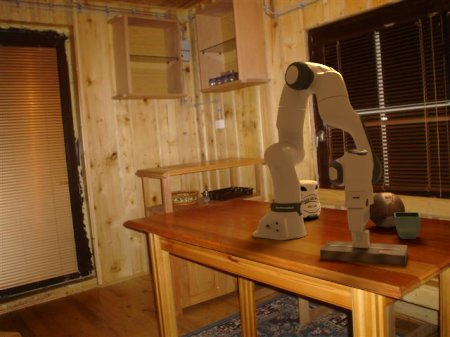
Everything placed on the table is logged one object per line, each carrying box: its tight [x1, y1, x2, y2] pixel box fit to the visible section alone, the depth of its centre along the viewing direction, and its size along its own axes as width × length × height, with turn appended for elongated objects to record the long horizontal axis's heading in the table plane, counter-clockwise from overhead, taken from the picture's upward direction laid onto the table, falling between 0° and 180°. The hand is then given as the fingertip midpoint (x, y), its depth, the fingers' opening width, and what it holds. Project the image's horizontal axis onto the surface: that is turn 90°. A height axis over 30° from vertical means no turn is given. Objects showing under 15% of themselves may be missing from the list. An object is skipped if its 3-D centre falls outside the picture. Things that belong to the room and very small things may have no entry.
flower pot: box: [394, 211, 421, 240], centre depth 155 cm, size 9×9×9 cm
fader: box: [351, 229, 371, 248], centre depth 136 cm, size 5×4×5 cm
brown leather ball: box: [369, 191, 406, 229], centre depth 173 cm, size 15×15×15 cm
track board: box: [319, 240, 409, 266], centre depth 136 cm, size 26×12×3 cm, turn 63°
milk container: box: [298, 179, 322, 220], centre depth 203 cm, size 17×17×18 cm
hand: (360, 239), depth 136 cm, fingers closed on fader, 4 cm apart
